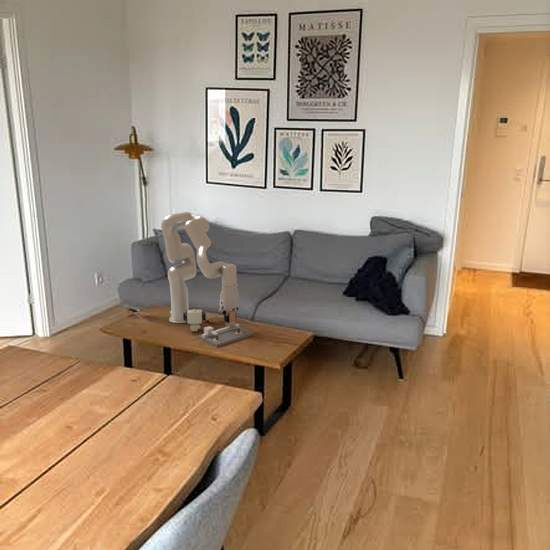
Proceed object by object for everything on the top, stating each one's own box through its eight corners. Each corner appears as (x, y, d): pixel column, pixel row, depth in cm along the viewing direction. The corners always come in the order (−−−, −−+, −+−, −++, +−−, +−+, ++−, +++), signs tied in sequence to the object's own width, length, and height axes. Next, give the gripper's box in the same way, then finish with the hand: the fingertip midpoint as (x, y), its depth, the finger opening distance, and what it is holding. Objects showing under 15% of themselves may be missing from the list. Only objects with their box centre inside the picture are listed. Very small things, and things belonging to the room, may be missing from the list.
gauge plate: (198, 338, 279) (197, 327, 277) (234, 327, 295) (234, 316, 293) (216, 347, 268) (216, 336, 266) (253, 335, 283) (253, 324, 282)
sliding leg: (225, 328, 288) (224, 310, 285) (231, 326, 290) (230, 309, 288) (236, 333, 281) (235, 315, 278) (242, 331, 283) (241, 313, 281)
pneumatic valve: (206, 331, 288) (205, 310, 285) (184, 332, 288) (182, 310, 285) (206, 327, 294) (205, 306, 291) (184, 328, 293) (183, 307, 290)
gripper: (237, 283, 290) (238, 315, 294) (212, 289, 279) (213, 323, 284) (246, 286, 284) (247, 319, 289) (220, 292, 273) (221, 326, 278)
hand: (230, 320), depth 286 cm, fingers closed on sliding leg, 4 cm apart
